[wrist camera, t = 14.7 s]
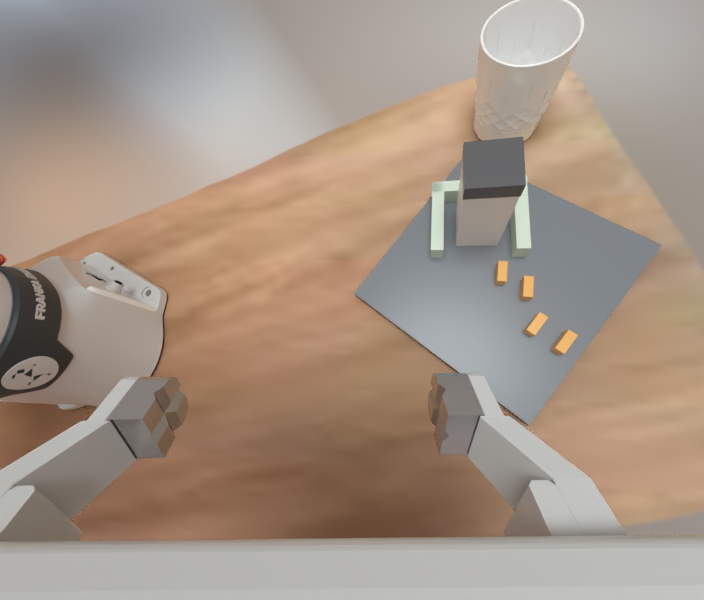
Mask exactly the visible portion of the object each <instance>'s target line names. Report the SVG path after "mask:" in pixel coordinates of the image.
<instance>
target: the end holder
mask: <svg viewBox="0 0 704 600" xmlns="http://www.w3.org/2000/svg"><path fill="white" fill-rule="evenodd" d="M525 177H526V186H525V188H524V190H523V193H522V195H521V196H520V197H519V199H518V201H517V204H516V206H515V208H514V210H513V212H512V215H511V217H510V230H511V252H512V257H525V256H526V255H527V254H528V252H529V251H530V249H531V235H530V219H529V203H528V187H527V175H525ZM459 183H460V180H455V181H442V182H432V222H431V258H443V250H444V202H457V198H458V191H459Z"/></svg>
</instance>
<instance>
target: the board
mask: <svg viewBox="0 0 704 600" xmlns="http://www.w3.org/2000/svg"><path fill="white" fill-rule="evenodd" d="M462 161H463V159H462V160H461V161H460V162H459V164H458V165H457V166H456V167H455V169H454V170H453V171H452V172H451V174H450V175H449V176H448V177H447V179H446V180H445V181H455V180H460V176H461V168H462ZM527 187H528V203H529V219H530V235H531V249H530V251H529V252H528V254H527V255H526V256H525V257H512V252H511V230H510V219H509V221H508V223H507V226H506V228H505V230H504V232H503V234H502V237H501V239H500V241H499V243H498V245H489V246H456V206H457V202H444V250H443V258H431V222H432V197H431V198H430V200H429V201H428V202H427V203H426V205H425V206H424V207H423V208H422V210H421V211H420V212H419V213H418V215H417V216H416V217H415V218H414V220H413V221H412V222H411V223H410V225H409V226H408V227H407V228H406V229H405V231H404V232H403V233H402V234H401V236H400V237H399V238H398V239H397V241H396V242H395V243H394V244H393V246H392V247H391V248H390V249H389V251H388V252H387V253H386V254H385V256H384V257H383V258H382V259H381V261H380V262H379V263H378V264H377V266H376V267H375V268H374V269H373V270H372V272H371V273H370V274H369V275H368V277H367V278H366V279H365V280H364V282H363V283H362V284H361V285H360V287H359V288H358V289H357V290H356V292H355V293H354V294H355V295H356V296H357V297H359V298H360V299H361V300H363V301H364V302H365V303H367V304H368V305H369V306H371V307H372V308H373V309H375V310H376V311H377V312H379V313H380V314H381V315H383V316H384V317H385V318H386V319H388V320H389V321H390V322H392V323H393V324H394V325H396V326H397V327H398V328H400V329H401V330H402V331H404V332H405V333H406V334H408V335H409V336H410V337H412V338H413V339H414V340H416V341H417V342H418V343H420V344H421V345H422V346H424V347H425V348H426V349H428V350H429V351H430V352H432V353H433V354H434V355H436V356H437V357H438V358H439V359H441V360H442V361H443V362H445V363H446V364H447V365H449V366H450V367H451V368H453V369H454V370H455V371H457V372H458V373H482V374H483V375H484V376H485V378H486V380H487V382H488V384H489V386H490V388H491V390H492V392H493V394H494V396H495V398H496V400H497V402H498V403H499V404H500V405H502V406H503V407H504V408H506V409H507V410H508V411H510V412H511V413H512V414H514V415H515V416H516V417H518V418H519V419H520V420H522V421H523V422H524V423H526V424H527V425H530V424H531V422H532V421H533V420H534V418H535V417H536V415H537V414H538V413H539V411H540V410H541V409H542V407H543V406H544V405H545V403H546V402H547V401H548V399H549V398H550V396H551V395H552V394H553V392H554V391H555V390H556V388H557V387H558V386H559V384H560V383H561V381H562V380H563V379H564V377H565V376H566V375H567V373H568V372H569V371H570V369H571V368H572V367H573V365H574V364H575V362H576V361H577V360H578V358H579V357H580V356H581V354H582V353H583V352H584V350H585V349H586V347H587V346H588V345H589V343H590V342H591V341H592V339H593V338H594V337H595V335H596V334H597V333H598V331H599V330H600V328H601V327H602V326H603V324H604V323H605V322H606V320H607V319H608V318H609V316H610V315H611V313H612V312H613V311H614V309H615V308H616V307H617V305H618V304H619V303H620V301H621V300H622V299H623V297H624V296H625V294H626V293H627V292H628V290H629V289H630V288H631V286H632V285H633V284H634V282H635V281H636V279H637V278H638V277H639V275H640V274H641V273H642V271H643V270H644V269H645V267H646V266H647V265H648V263H649V262H650V260H651V259H652V258H653V256H654V255H655V254H656V252H657V251H658V250H659V248H660V247H661V244H659V243H656V242H654V241H652V240H650V239H648V238H646V237H643V236H641V235H639V234H637V233H635V232H633V231H631V230H628V229H626V228H624V227H622V226H620V225H618V224H616V223H613V222H611V221H609V220H607V219H605V218H603V217H600V216H598V215H596V214H594V213H592V212H590V211H588V210H585V209H583V208H581V207H579V206H577V205H575V204H573V203H570V202H568V201H566V200H564V199H562V198H560V197H557V196H555V195H553V194H551V193H549V192H547V191H545V190H542V189H540V188H538V187H536V186H534V185H532V184H530V183H527Z"/></svg>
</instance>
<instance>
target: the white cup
mask: <svg viewBox="0 0 704 600" xmlns="http://www.w3.org/2000/svg"><path fill="white" fill-rule="evenodd" d="M583 30H584V18H583V15H582V13H581V11H580V10H579V9H578V7H577V6H576V5H574V4H573V3H572V2H570V1H568V0H514V1H512V2H510V3H508V4H506V5H504V6H502V7H501V8H499V9H498V10H497V11H495V12H494V13H493V14H492V15H491V16H490V17H489V18H488V20H487V21H486V23H485V24H484V26H483V28H482V31H481V36H480V46H479V47H480V48H479V57H478V68H477V77H476V91H475V119H474V130H475V132H476V134H477V136H478V138H479V139H480V140H482V141H483V140H493V139H503V138H513V137H523V141H525V140H526V139H528V138H529V137H530V136H531V135H532V133H533V132H534V131H535V129H536V128H537V126H538V124H539V122H540V120H541V118H542V115H543V114H544V112H545V110H546V109H547V107H548V105H549V103H550V101H551V98H552V96H553V95H554V93H555V91H556V89H557V87H558V85H559V83H560V80H561V78H562V76H563V74H564V72H565V70H566V68H567V65H568V63H569V61H570V59H571V57H572V55H573V52H574V50H575V48H576V46H577V44H578V42H579V40H580V37H581V36H582V33H583Z"/></svg>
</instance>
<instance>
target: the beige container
mask: <svg viewBox="0 0 704 600" xmlns="http://www.w3.org/2000/svg"><path fill="white" fill-rule="evenodd" d="M525 186H526V177H525V160H524V144H523V137H513V138H503V139H493V140H483V141H473V142H464V147H463V161H462V168H461V176H460V183H459V191H458V198H457V206H456V246H489V245H498V243H499V241H500V239H501V237H502V234H503V232H504V230H505V228H506V226H507V223H508V221H509V219H510V217H511V215H512V212H513V210H514V208H515V206H516V204H517V201H518V199H519V197H520V196H521V195H522V193H523V190H524V188H525Z"/></svg>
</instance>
